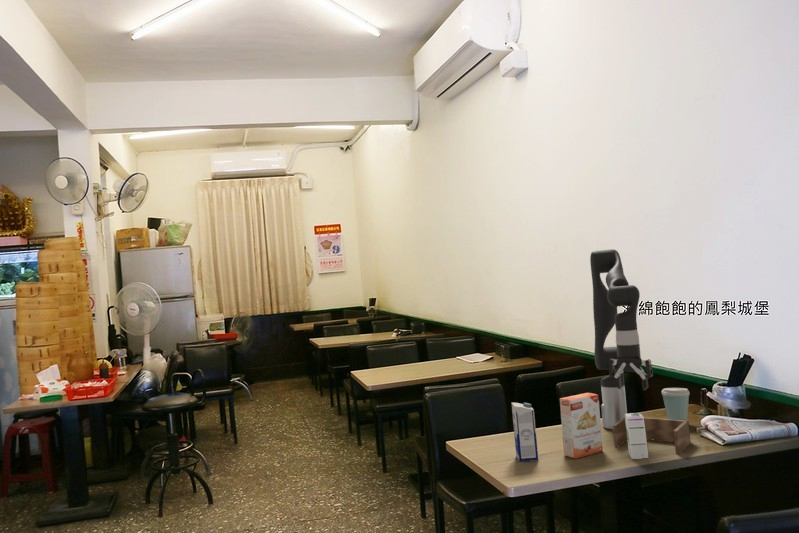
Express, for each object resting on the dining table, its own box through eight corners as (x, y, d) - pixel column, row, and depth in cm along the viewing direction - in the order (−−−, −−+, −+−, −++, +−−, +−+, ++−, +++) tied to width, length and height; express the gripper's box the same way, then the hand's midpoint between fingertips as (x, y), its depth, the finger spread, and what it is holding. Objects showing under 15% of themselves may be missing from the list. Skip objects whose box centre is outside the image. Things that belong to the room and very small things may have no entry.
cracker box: (575, 459, 205) (570, 400, 205) (563, 456, 210) (558, 397, 211) (604, 451, 211) (599, 393, 212) (592, 448, 216) (586, 391, 217)
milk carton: (516, 456, 214) (511, 401, 215) (534, 454, 214) (529, 400, 215) (519, 461, 207) (514, 405, 208) (538, 460, 207) (533, 404, 208)
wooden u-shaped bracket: (614, 446, 215) (612, 425, 216) (628, 436, 227) (626, 415, 227) (679, 454, 201) (677, 431, 201) (690, 442, 213) (688, 420, 213)
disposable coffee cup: (660, 422, 243) (657, 386, 244) (687, 421, 242) (684, 384, 242) (668, 428, 233) (665, 391, 233) (697, 427, 231) (693, 389, 232)
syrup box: (649, 459, 199) (644, 416, 199) (630, 459, 200) (626, 417, 201) (645, 454, 204) (641, 412, 205) (628, 454, 206) (624, 413, 206)
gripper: (652, 341, 201) (656, 388, 201) (611, 341, 211) (615, 386, 210) (645, 344, 196) (650, 392, 195) (603, 344, 205) (607, 390, 204)
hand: (632, 389), depth 203 cm, fingers open, 8 cm apart
